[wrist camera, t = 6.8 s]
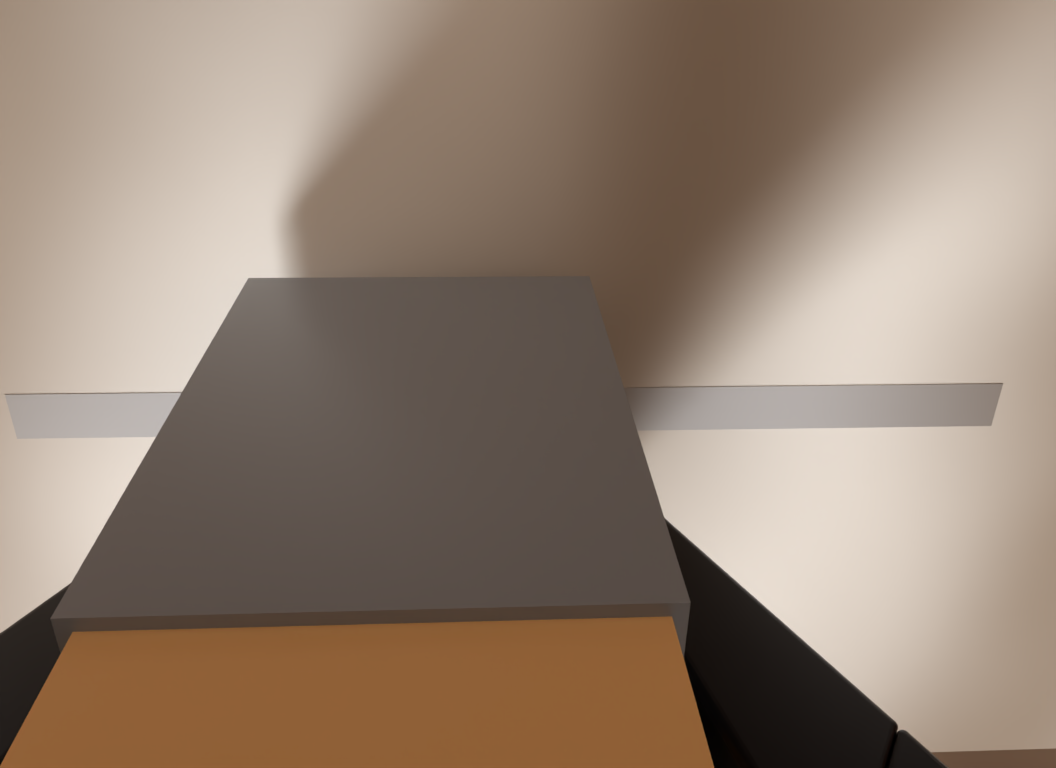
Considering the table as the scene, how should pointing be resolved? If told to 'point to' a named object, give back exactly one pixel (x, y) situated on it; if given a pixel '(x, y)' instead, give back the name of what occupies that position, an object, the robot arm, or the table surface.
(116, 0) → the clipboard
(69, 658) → the lidded cardboard box
